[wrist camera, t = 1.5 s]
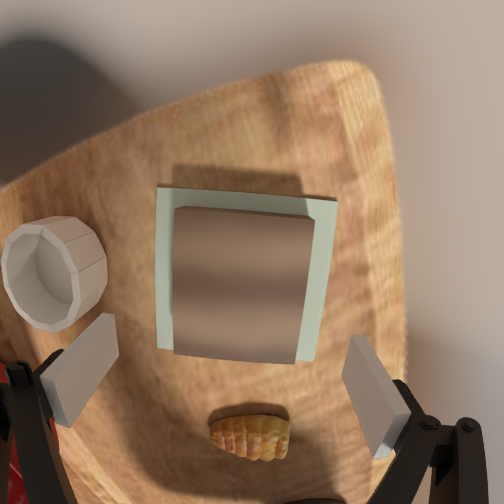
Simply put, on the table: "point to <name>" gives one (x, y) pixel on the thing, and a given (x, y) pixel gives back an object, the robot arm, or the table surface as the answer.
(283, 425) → the pastry
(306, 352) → the mat
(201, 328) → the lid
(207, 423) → the table surface
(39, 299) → the bowl
